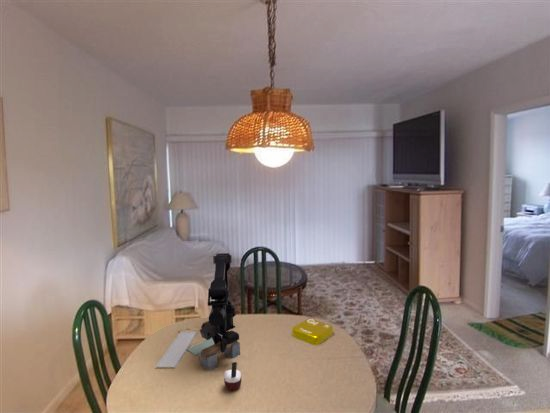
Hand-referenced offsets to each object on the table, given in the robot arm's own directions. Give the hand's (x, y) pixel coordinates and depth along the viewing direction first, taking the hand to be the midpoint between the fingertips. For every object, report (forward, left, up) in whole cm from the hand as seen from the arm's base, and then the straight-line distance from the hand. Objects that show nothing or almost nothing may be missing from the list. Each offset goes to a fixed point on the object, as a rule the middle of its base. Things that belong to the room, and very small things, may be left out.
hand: (220, 351), depth 141 cm
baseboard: (+8, -22, -5) cm, 24 cm away
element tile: (-43, +15, -4) cm, 46 cm away
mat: (-3, -14, -4) cm, 15 cm away
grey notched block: (+6, 0, -4) cm, 7 cm away
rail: (0, 0, 0) cm, 0 cm away
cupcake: (+8, +18, -4) cm, 20 cm away
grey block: (-6, 0, -4) cm, 7 cm away
